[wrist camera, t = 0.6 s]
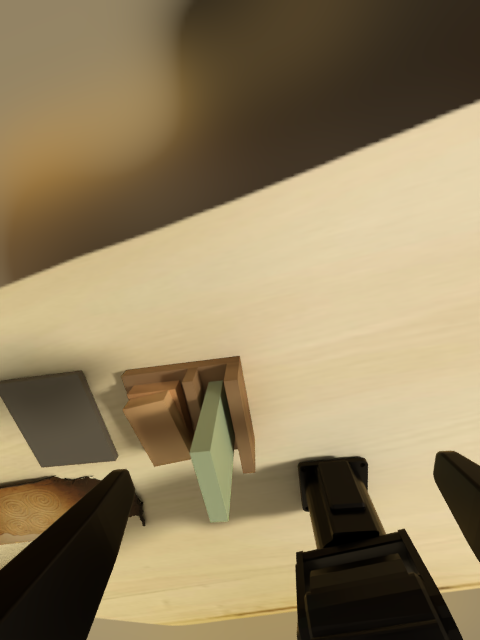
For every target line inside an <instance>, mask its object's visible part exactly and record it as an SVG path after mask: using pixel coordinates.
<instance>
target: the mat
mask: <svg viewBox="0 0 480 640" xmlns="http://www.w3.org/2000/svg"><path fill="white" fill-rule="evenodd" d="M0 396H1V398H2V400H3V401H4V403H5V405H6V407H7V408H8V410H9V412H10V414H11V415H12V417H13V419H14V420H15V422H16V424H17V426H18V427H19V429H20V431H21V433H22V434H23V436H24V438H25V440H26V441H27V443H28V445H29V446H30V448H31V450H32V452H33V453H34V455H35V457H36V459H37V460H38V462H39V464H40V466H41V467H53V466H64V465H75V464H86V463H97V462H108V461H116V459H117V457H118V454H117V451H116V449H115V447H114V444H113V442H112V440H111V437H110V435H109V433H108V430H107V428H106V426H105V423H104V421H103V419H102V416H101V414H100V412H99V409H98V407H97V405H96V402H95V400H94V398H93V395H92V393H91V391H90V388H89V386H88V384H87V381H86V379H85V377H84V374H83V372H82V371H75V372H67V373H60V374H52V375H44V376H36V377H28V378H20V379H12V380H4V381H0Z"/></svg>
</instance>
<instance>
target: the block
mask: <svg viewBox="0 0 480 640" xmlns="http://www.w3.org/2000/svg"><path fill="white" fill-rule="evenodd" d="M234 444H235V434H234V430H233V425H232V420H231V416H230V411H229V406H228V402H227V397H226V392H225V388H224V383H223V380H221V381H213V382H209V383H208V387H207V390H206V394H205V398H204V401H203V405H202V409H201V412H200V416H199V420H198V423H197V427H196V431H195V434H194V438H193V442H192V445H191V449H190V456H191V460H192V463H193V466H194V470H195V473H196V476H197V480H198V483H199V486H200V490H201V493H202V496H203V500H204V503H205V506H206V509H207V513H208V516H209V519H210V523H212V522H228V521H229V510H230V497H231V484H232V470H233V457H234Z"/></svg>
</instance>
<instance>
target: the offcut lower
mask: <svg viewBox="0 0 480 640" xmlns="http://www.w3.org/2000/svg"><path fill="white" fill-rule="evenodd" d="M166 390H169V392H170V394H171V396H172V398H173V400H174V402H175V404H176V407H177V409H178V411H179V413H180V415H181V417H182V419H183V421H184V423H185V426H186V428H187V430H188V432H189V434H190V436H191V438H192V440H193V438H194V430H193V427H192V423H191V420H190V416H189V412H188V409H187V405H186V402H185V398H184V395H183V391H182V388H181V384H180V381H179V380H177V381H168V382H160V383H151V384H143V385H134V386H133V387H132V389H131V390H130V391H129V393H128V394H127V396H128V399H129V400H130V399H134V398H138V397H142V396H146V395H150V394H154V393H158V392H162V391H166Z"/></svg>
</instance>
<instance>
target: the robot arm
mask: <svg viewBox="0 0 480 640" xmlns="http://www.w3.org/2000/svg"><path fill="white" fill-rule="evenodd" d="M298 472H299V481H300V490H301V499H302V506H303V510H304V511H307V512H310V517H311V522H312V527H313V532H314V537H315V541H316V546H317V549H316V550H312V551H307V552H303V551H300V552H296V561H297V564H296V590H297V613H298V623H297V640H463V638H462V636H461V634H460V632H459V629H458V627H457V626H456V623H455V621H454V619H453V617H452V615H451V613H450V611H449V609H448V607H447V605H446V603H445V601H444V599H443V598H442V595H441V594H440V592H439V590H438V588H437V586H436V584H435V582H434V581H433V579H432V577H431V575H430V573H429V572H428V570H427V568H426V566H425V564H424V563H423V561H422V559H421V557H420V555H419V554H418V552H417V550H416V548H415V546H414V545H413V543H412V541H411V539H410V537H409V536H408V534H407V532H406V530H405V529H400V530H398V532H394V533H390V534H386V533H385V530H384V528H383V526H382V524H381V521H380V519H379V517H378V515H377V512H376V510H375V508H374V505H373V503H372V501H371V499H370V496H369V494H368V463H367V461H366V459H365V458H361V457H360V458H348V459H337V460H325V461H313V462H302V463H299V465H298ZM433 475H434V480H435V482H436V484H437V486H438V488H439V490H440V492H441V494H442V496H443V497H444V499H445V501H446V503H447V505H448V507H449V509H450V510H451V512H452V514H453V516H454V518H455V520H456V522H457V524H458V525H459V527H460V529H461V531H462V533H463V535H464V537H465V538H466V540H467V542H468V544H469V546H470V547H471V549H472V551H473V552H474V554H475V556H476V557H477V559H478V560H479V562H480V466H479V465H478V464H476V463H474V462H473V461H471V460H469V459H468V458H466V457H464V456H462V455H461V454H459V453H457V452H455V451H439V452H438V453H437V454H436V458H435V464H434V471H433ZM134 495H135V488H134V485H133V482H132V479H131V476H130V474H129V471H128V470H127V469H118V470H113V471H112V472H111V473H109V474H108V475H107V476H106V477H105V478H104V479H103V480H101V481H100V482H99V483H98V484H97V485H96V486H95V487H94V488H92V489H91V490H90V491H89V492H88V493H87V494H86V495H85V496H83V497H82V498H81V499H80V500H79V501H78V502H77V503H75V504H74V505H73V506H72V507H71V508H70V509H69V510H68V511H66V512H65V513H64V514H63V515H62V516H61V517H60V518H59V519H57V520H56V521H55V522H54V523H53V524H52V525H51V526H49V527H48V528H47V529H46V530H45V531H44V532H43V533H42V534H40V535H39V536H38V537H37V538H36V539H35V540H34V541H33V542H31V543H30V544H29V545H28V546H27V547H26V548H25V549H23V550H22V551H21V552H20V553H19V554H18V555H17V556H16V557H14V558H13V559H12V560H11V561H10V562H9V563H8V564H7V565H5V566H4V567H3V568H2V569H1V570H0V640H86V639H87V637H88V634H89V631H90V629H91V626H92V623H93V621H94V618H95V615H96V613H97V610H98V607H99V605H100V602H101V599H102V596H103V594H104V591H105V588H106V586H107V583H108V580H109V578H110V575H111V572H112V570H113V567H114V564H115V561H116V558H117V555H118V552H119V549H120V545H121V542H122V538H123V535H124V531H125V528H126V524H127V521H128V517H129V513H130V510H131V506H132V503H133V499H134Z"/></svg>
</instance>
